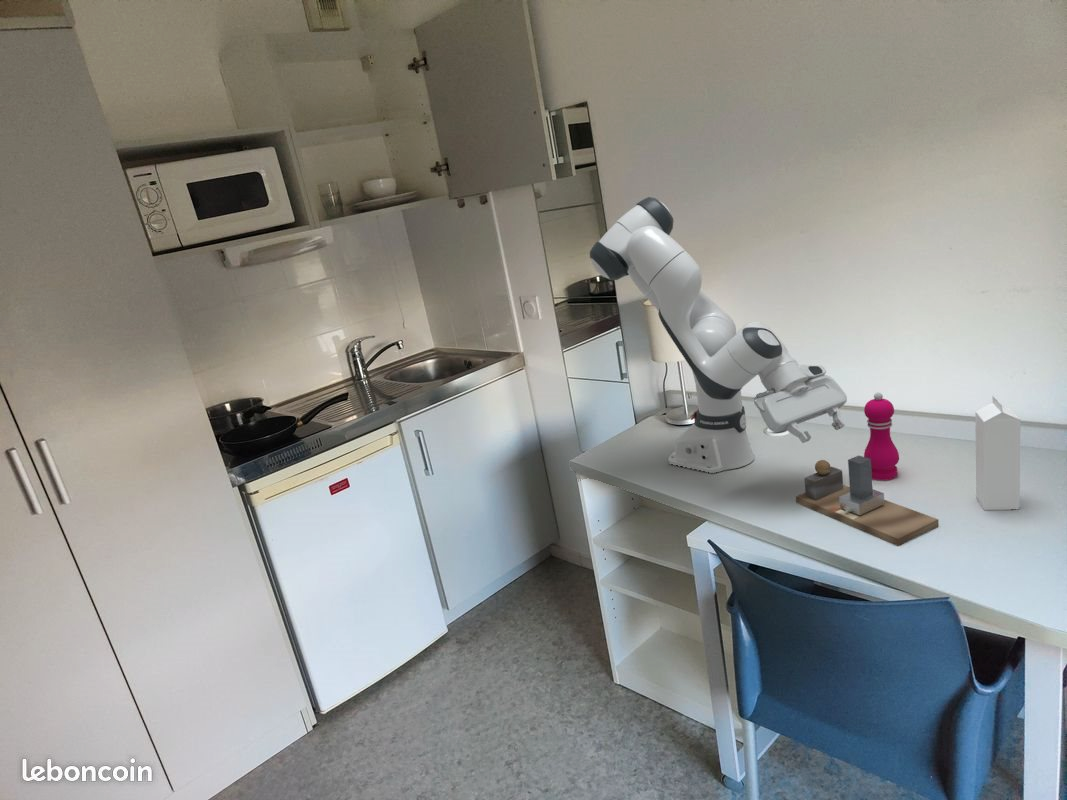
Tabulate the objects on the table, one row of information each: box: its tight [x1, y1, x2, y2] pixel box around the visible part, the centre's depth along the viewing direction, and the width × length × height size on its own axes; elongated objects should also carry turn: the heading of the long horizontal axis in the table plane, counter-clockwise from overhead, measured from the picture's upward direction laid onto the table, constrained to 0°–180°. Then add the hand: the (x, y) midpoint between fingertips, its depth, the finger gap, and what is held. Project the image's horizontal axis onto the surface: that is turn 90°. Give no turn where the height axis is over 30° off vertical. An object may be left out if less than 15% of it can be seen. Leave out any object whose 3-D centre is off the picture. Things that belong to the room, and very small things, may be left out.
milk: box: [975, 395, 1021, 511], centre depth 134 cm, size 6×6×22 cm
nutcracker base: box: [795, 459, 939, 547], centre depth 142 cm, size 26×11×9 cm, turn 24°
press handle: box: [839, 455, 885, 515], centre depth 141 cm, size 5×8×10 cm, turn 114°
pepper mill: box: [863, 392, 900, 481], centre depth 155 cm, size 7×7×20 cm
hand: (824, 434), depth 147 cm, fingers open, 8 cm apart
